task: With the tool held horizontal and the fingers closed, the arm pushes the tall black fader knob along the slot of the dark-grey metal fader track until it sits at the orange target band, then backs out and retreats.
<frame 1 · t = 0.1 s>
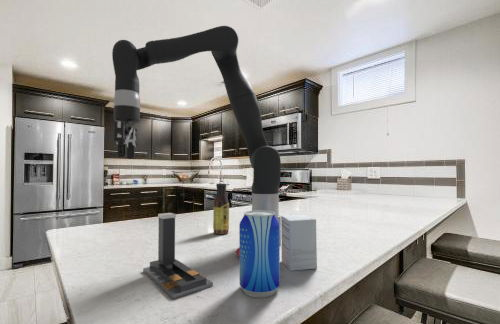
hand: (126, 157, 81), 29 cm above the table, tool pointing down, fingers open, 8 cm apart
candy bar: (254, 264, 70), on the table
beer can: (259, 290, 54), on the table
supplement box: (298, 265, 68), on the table
fader knob: (166, 240, 64), point 8 cm above the table, slide at 0.0 cm
sauce bottle: (221, 233, 103), on the table
fader track: (175, 278, 60), on the table
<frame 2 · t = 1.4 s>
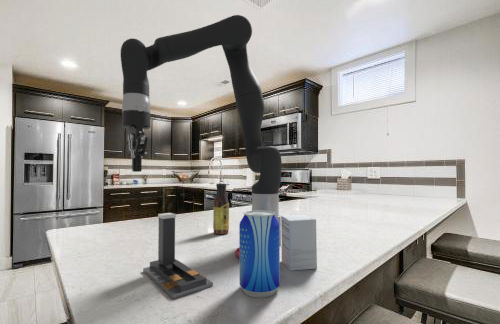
hand: (136, 171, 74), 25 cm above the table, tool pointing down, fingers closed
nothing on the table moved.
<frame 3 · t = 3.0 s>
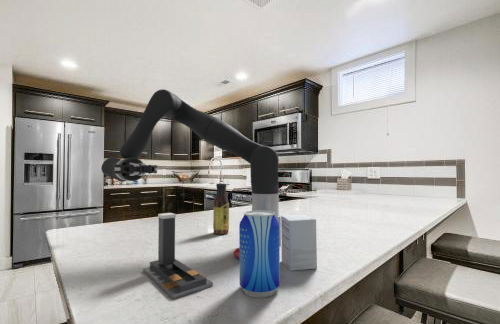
hand: (146, 169, 72), 25 cm above the table, tool horizontal, fingers closed
nothing on the table moved.
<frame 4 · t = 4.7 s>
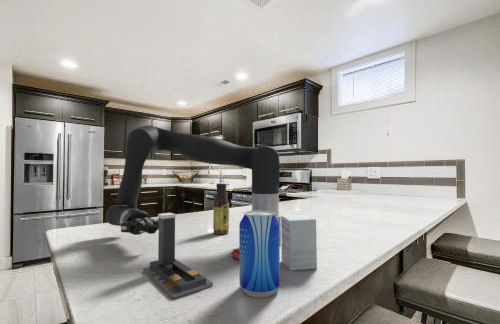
hand: (152, 229, 72), 9 cm above the table, tool horizontal, fingers closed
nothing on the table moved.
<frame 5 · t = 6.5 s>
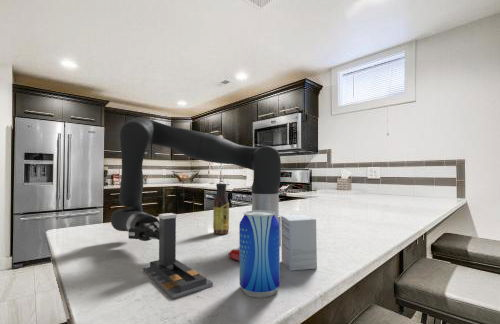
hand: (164, 236, 65), 8 cm above the table, tool horizontal, fingers closed
fader knob: (167, 240, 64), point 8 cm above the table, slide at 0.5 cm, touching gripper
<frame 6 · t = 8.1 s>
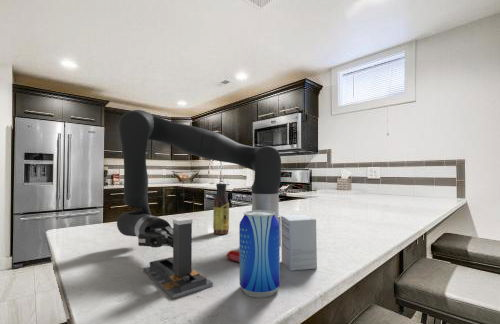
hand: (178, 243, 58), 8 cm above the table, tool horizontal, fingers closed
fader knob: (182, 248, 57), point 8 cm above the table, slide at 9.0 cm, touching gripper
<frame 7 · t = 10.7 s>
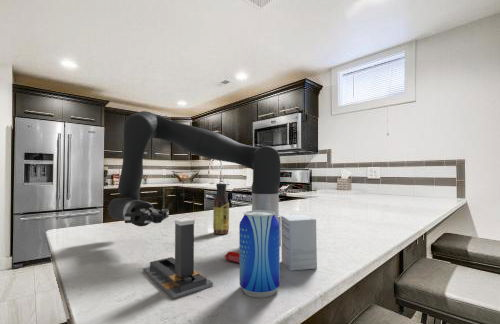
hand: (158, 219, 67), 12 cm above the table, tool horizontal, fingers closed
fader knob: (184, 249, 57), point 8 cm above the table, slide at 10.0 cm
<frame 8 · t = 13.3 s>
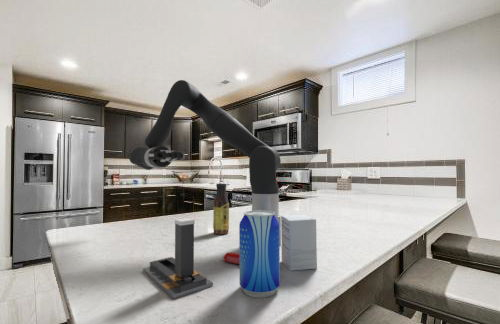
hand: (178, 154, 80), 30 cm above the table, tool horizontal, fingers closed
at the end: fader knob slide at 10.0 cm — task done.
